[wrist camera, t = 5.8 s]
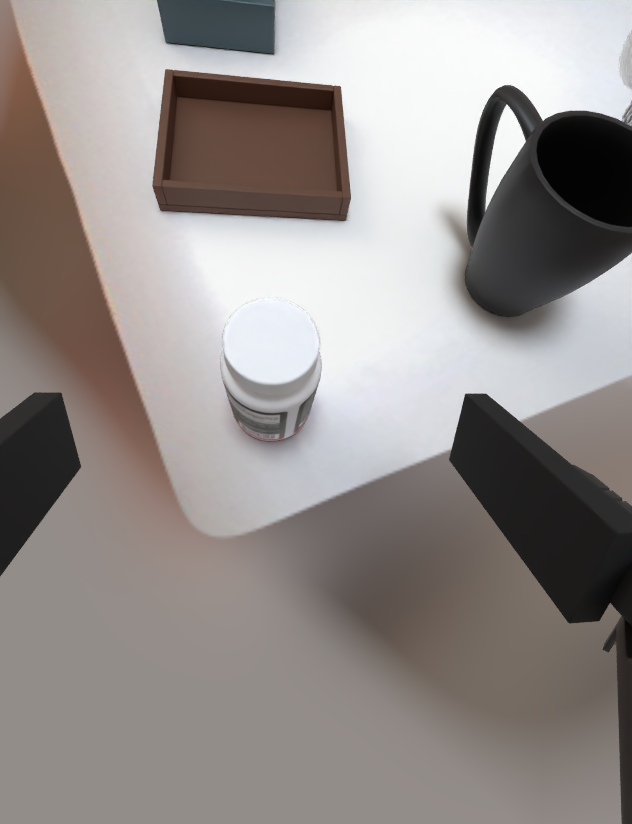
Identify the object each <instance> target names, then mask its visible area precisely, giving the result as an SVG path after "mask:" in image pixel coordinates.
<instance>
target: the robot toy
mask: <svg viewBox="0 0 632 824" xmlns="http://www.w3.org/2000/svg"><path fill="white" fill-rule="evenodd" d="M619 74H620V77H621V79H622V81H623V84H624V85H625V86H626V87H627V88H629V89H630V90H632V30H631V31H630V33H629V35H628V37H627V39H626V41H625V43H624V45H623V48H622V51H621V54H620V58H619ZM622 122H624V123H626V124H628V125H630V126H632V101H631V103H630V105H629V106H628V108H627V109H626V112H625V113H624V115H623V116H622Z"/></svg>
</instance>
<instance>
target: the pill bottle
mask: <svg viewBox="0 0 632 824" xmlns="http://www.w3.org/2000/svg"><path fill="white" fill-rule="evenodd" d="M222 346H223V350H222V354H221V361H220V367H221V375H222V379H223V382H224V386H225V389H226V392H227V396H228V399H229V402H230V405H231V408H232V412H233V415H234V417H235V419H236V421H237V423H238V424H239V426H240V427H241V428H242V429H243V430H244V431H245V432H246V433H248V434H249V435H251V436H253V437H255V438H257V439H260V440H265V441H277V440H282V439H285V438H288V437H290V436H292V435H293V434H295V433H296V432H297V431H299V430H300V428H301V427H302V426H303V425H304V423H305V422H306V420H307V418H308V416H309V413H310V409H311V406H312V403H313V400H314V397H315V394H316V390H317V387H318V384H319V381H320V377H321V368H322V363H321V356H320V352H319V350H320V337H319V332H318V329H317V327H316V325H315V323H314V321H313V319H312V318H311V317H310V316H309V314H308V313H307V312H306V311H304V310H303V309H302V308H300V307H299V306H297V305H296V304H294V303H292V302H289V301H286V300H283V299H278V298H262V299H257V300H253V301H250V302H248V303H246V304H244V305H242V306H241V307H239V308H238V309H237V310H236V311H235V312H234V313H233V314H232V315H231V316H230V318H229V319H228V321H227V322H226V325H225V327H224V330H223V335H222Z"/></svg>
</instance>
